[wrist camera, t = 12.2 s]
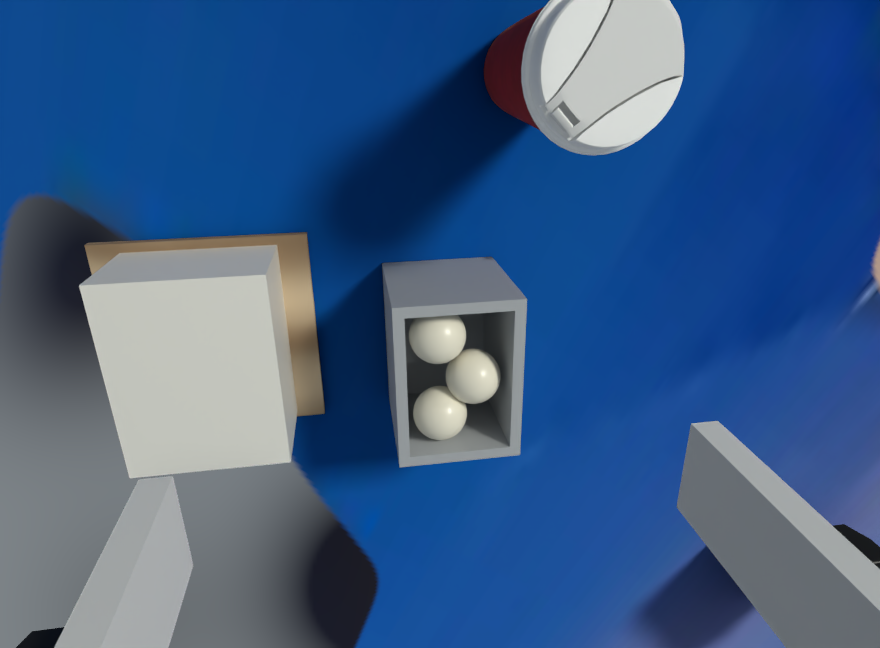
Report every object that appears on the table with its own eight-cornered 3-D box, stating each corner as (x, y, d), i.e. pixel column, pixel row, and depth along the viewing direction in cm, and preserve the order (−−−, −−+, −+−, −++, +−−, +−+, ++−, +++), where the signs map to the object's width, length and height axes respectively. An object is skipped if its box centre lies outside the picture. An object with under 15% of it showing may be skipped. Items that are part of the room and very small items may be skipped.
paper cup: (519, 156, 41) (600, 193, 28) (442, 69, 38) (493, 66, 25) (605, 70, 40) (730, 67, 27) (531, -27, 37) (633, -81, 24)
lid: (119, 253, 39) (79, 285, 33) (276, 244, 40) (265, 274, 34) (158, 422, 44) (129, 478, 38) (297, 410, 45) (290, 462, 39)
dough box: (381, 263, 42) (391, 308, 34) (491, 256, 43) (527, 298, 35) (389, 398, 47) (399, 467, 38) (489, 389, 48) (520, 454, 39)
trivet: (88, 243, 39) (84, 245, 38) (306, 232, 41) (306, 234, 40) (133, 426, 44) (131, 431, 44) (325, 409, 46) (324, 413, 46)
